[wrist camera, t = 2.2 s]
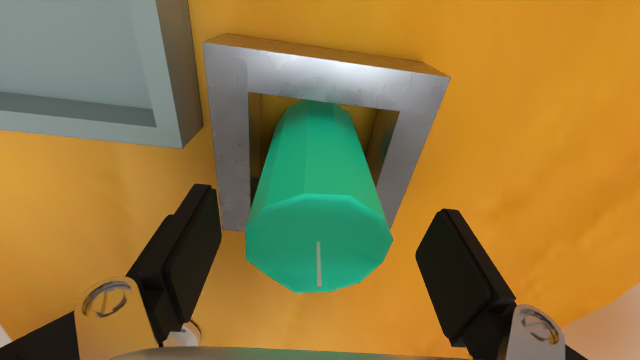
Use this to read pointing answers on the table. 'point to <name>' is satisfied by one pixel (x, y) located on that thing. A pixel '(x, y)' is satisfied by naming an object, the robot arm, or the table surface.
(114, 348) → the robot arm
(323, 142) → the candle
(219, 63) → the holder
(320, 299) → the table surface
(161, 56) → the tray
